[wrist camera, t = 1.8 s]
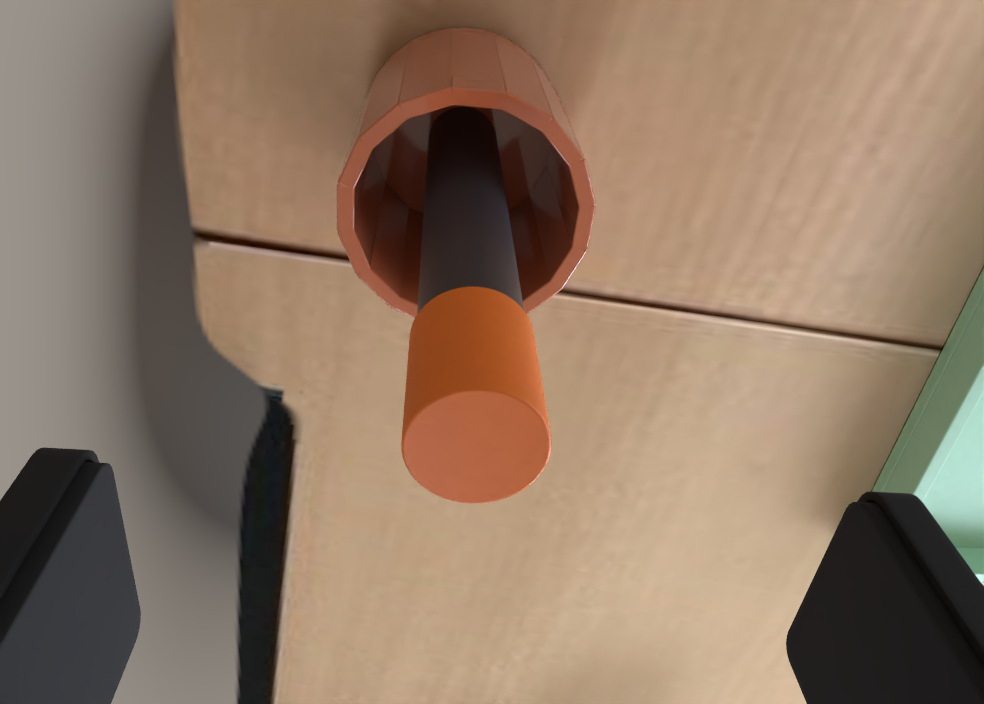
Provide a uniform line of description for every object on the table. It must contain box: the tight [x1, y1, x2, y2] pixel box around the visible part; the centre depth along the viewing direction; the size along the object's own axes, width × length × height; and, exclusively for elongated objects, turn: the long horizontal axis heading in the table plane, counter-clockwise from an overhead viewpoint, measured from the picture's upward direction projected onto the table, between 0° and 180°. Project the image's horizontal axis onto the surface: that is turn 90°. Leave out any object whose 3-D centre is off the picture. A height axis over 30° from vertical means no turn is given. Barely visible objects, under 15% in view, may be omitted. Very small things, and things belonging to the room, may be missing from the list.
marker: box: [402, 107, 551, 503], centre depth 17 cm, size 2×2×14 cm
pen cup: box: [337, 27, 595, 318], centre depth 21 cm, size 6×6×6 cm
